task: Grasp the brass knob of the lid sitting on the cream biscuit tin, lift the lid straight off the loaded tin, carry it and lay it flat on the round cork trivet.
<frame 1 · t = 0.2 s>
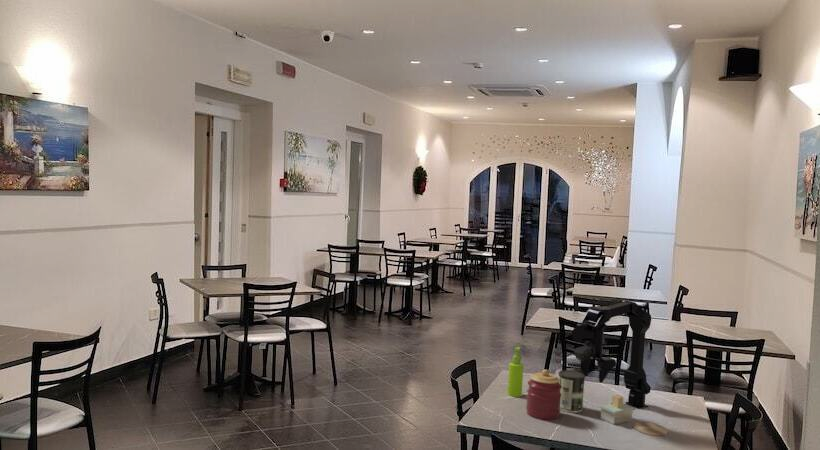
hand: (592, 379, 250), 14 cm above the table, fingers open, 9 cm apart
soap dispenser: (514, 394, 270), on the table
canister: (542, 414, 248), on the table
trivet: (650, 429, 238), on the table
coffee can: (569, 408, 256), on the table
lid: (617, 408, 245), point 4 cm above the table, touching tin
tin: (616, 420, 246), on the table
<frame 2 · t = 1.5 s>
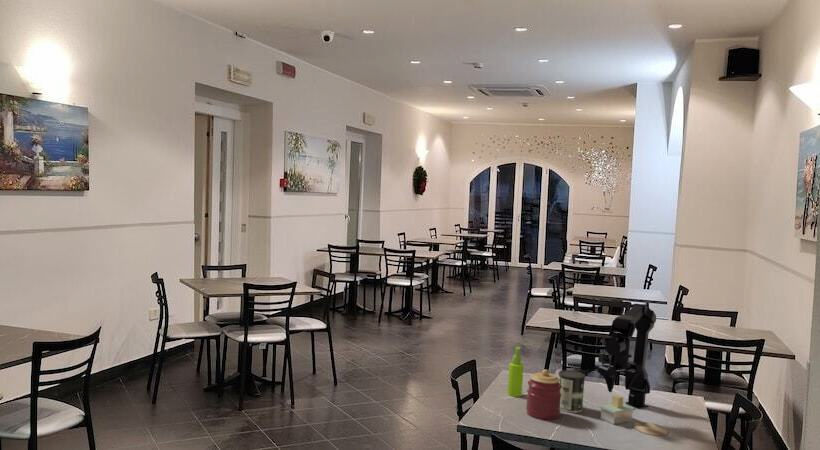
hand: (618, 390, 245), 11 cm above the table, fingers open, 9 cm apart
nothing on the table moved.
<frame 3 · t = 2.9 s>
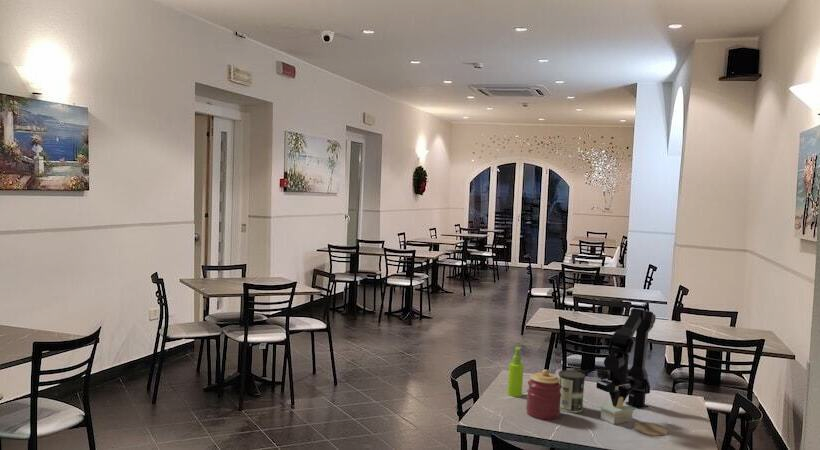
hand: (617, 405, 245), 6 cm above the table, fingers closed on lid, 3 cm apart
lid: (617, 408, 245), point 4 cm above the table, touching gripper, tin
everything else where it was.
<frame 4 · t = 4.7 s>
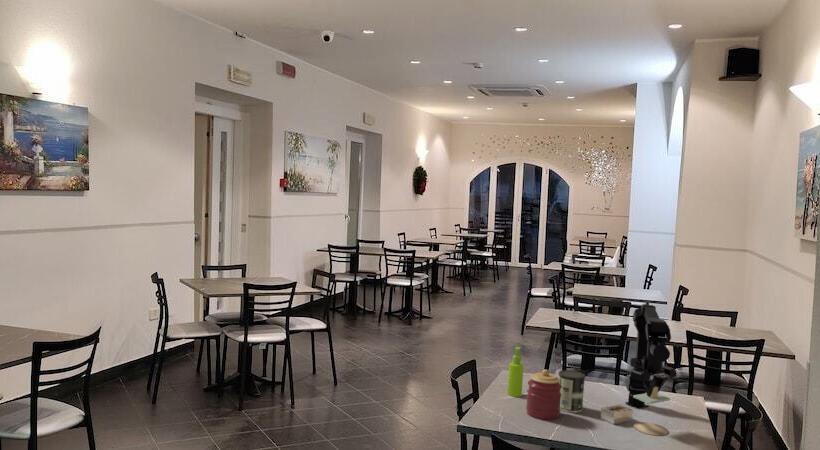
hand: (651, 395, 237), 13 cm above the table, fingers closed on lid, 3 cm apart
lid: (651, 398, 237), point 11 cm above the table, touching gripper
everything else where it was.
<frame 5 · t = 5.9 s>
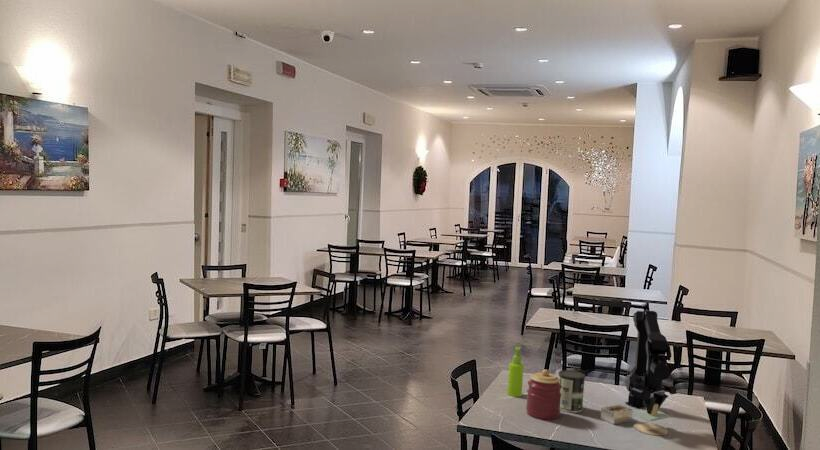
hand: (651, 413, 238), 6 cm above the table, fingers closed on lid, 3 cm apart
lid: (651, 416, 238), point 5 cm above the table, touching gripper
everything else where it was.
when the fingers open (3 cm above the table, at t = 6.7 s): lid drops 1 cm, resting on trivet.
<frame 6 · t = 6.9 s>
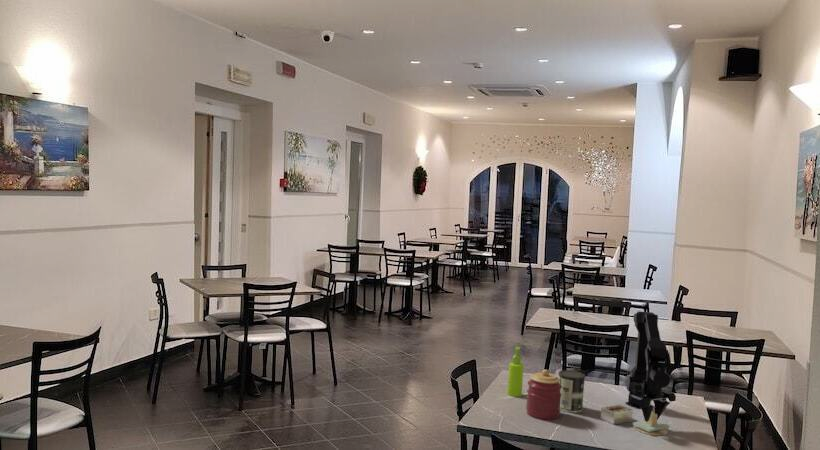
hand: (651, 420, 238), 3 cm above the table, fingers open, 5 cm apart
lid: (650, 426, 238), point 1 cm above the table, touching trivet
everything else where it was.
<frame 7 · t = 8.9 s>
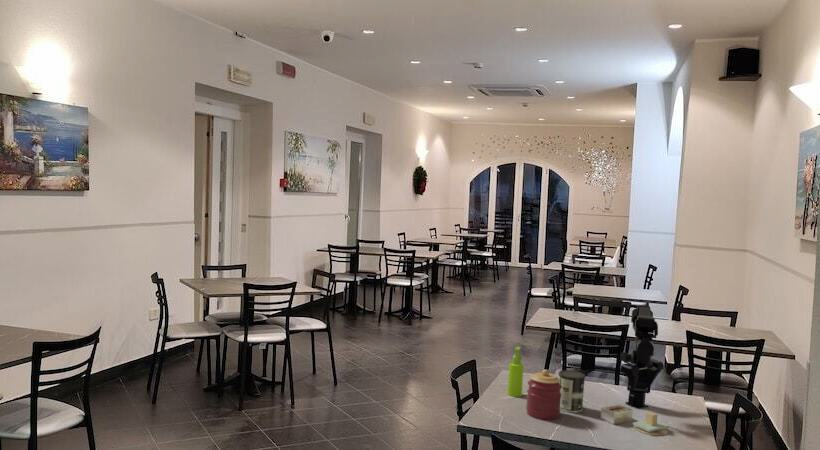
hand: (640, 388, 249), 12 cm above the table, fingers open, 9 cm apart
nothing on the table moved.
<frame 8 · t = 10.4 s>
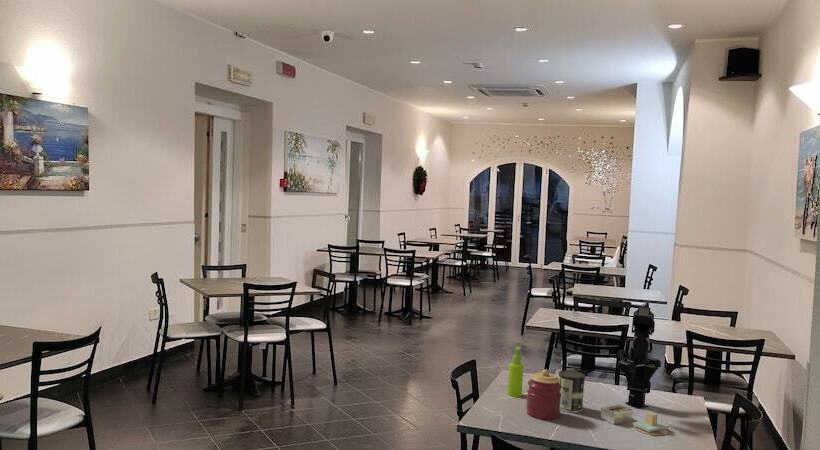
hand: (637, 385, 252), 12 cm above the table, fingers open, 9 cm apart
nothing on the table moved.
at the end: lid inside the target area on the trivet (0.0 cm from its centre), point 1.2 cm above the trivet's base; lid tilted 0°; lid touching trivet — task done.
